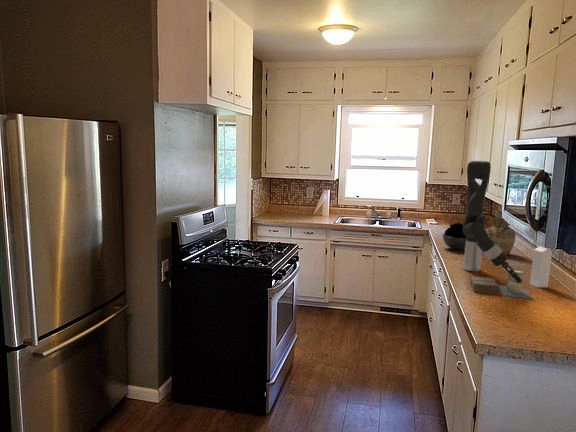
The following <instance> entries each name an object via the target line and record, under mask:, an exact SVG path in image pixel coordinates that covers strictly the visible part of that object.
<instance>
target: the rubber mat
mask: <svg viewBox="0 0 576 432" xmlns="http://www.w3.org/2000/svg"><path fill="white" fill-rule="evenodd" d="M498 286H499V291H498V292H500V293H501V295H502V296H504V297H510V298H519V299H520V298H521V299H530V300H533V299H534V297H533V296H532V295H531V294H530V293H529V292H528V291H527V290H526V289H525V288H524V287H523V286H522V290H521V293H517V292H508V291H507V290H506V285H505V284H503V285H502V284H498Z"/></svg>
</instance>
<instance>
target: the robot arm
mask: <svg viewBox="0 0 576 432" xmlns="http://www.w3.org/2000/svg"><path fill="white" fill-rule="evenodd" d="M491 167H492V166H491V162H490V161H485V160H470V161H469V162H468V164H467V166H466V179H467V180H466V182H467V184H466V185H467V188H466V198H465V199H466V211H465V216H464V217H465V219H464V223H463V233H464V235H465V236H466V245H465V249H464V255H463V256H464V257H463V265H462V267H463V270H465V271H469V272H480V271H481V265H482V253H483V254H484V255H485V256H486V257H487V259H488V260H489V261H490V262H491V263H492V264H493V265H494V266H495V267H499V266H500V265H501V266H500V267H501V268H502V269H503V271H505V272H506V273H507V275H508V274H510V275H511V276H512V277H513V278H514V279H515V280H516V281H517V282H518V283H520V282H521V281H522V280H521V279H520V277H519V276H518V275H517V273H515V272H514V271H515V268H513V266H512V265H511V264H510V262H508V261H507V260H508V259H509V256H508V255H506V254H505V253H504V252H503V251H502V250H501V248H500V247H499V246H498V245H496V244H495V243H494V242H493V241H492V239H491V238H490V237H489V236H488V234H487V232H486V230H487V229H486V228H485V227H486V220H487V219H486V215H485V214H483V211H484V204H485V201H486V200H485V198H486V197H485V196H486V193H487V190H488V185H489V181H490V176H491V171H492V169H491ZM477 180H481V183H480V184H479V183H478V182H477ZM513 272H514V274H513V275H512V274H511V273H513ZM522 282H523V281H522Z"/></svg>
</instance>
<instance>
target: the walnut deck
mask: <svg viewBox="0 0 576 432" xmlns="http://www.w3.org/2000/svg"><path fill="white" fill-rule="evenodd" d="M498 285H499V284H498V283H497V282H496V280H495V279H494V278H493V277H484V276H473V275H470V276H469V286H470V287H471V289H472V290H473V292H474V293H480V292H482V294H483V293H484V294H490V293H492V294H493V295H499V292H500V291H499V286H498ZM492 294H491V295H492Z"/></svg>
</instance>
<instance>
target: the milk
mask: <svg viewBox="0 0 576 432" xmlns="http://www.w3.org/2000/svg"><path fill="white" fill-rule="evenodd" d="M552 256H553V251H552V250H550V249H549V247H548V248H545V247H543V246H542V245H538V247H536V248H534V249H533V256H532V263H531V264H532V265H531V270H530V271H531V272H530V279H529V285H531V286H533V287H535V288H548V286H549V281H550V272H551V265H552Z"/></svg>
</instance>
